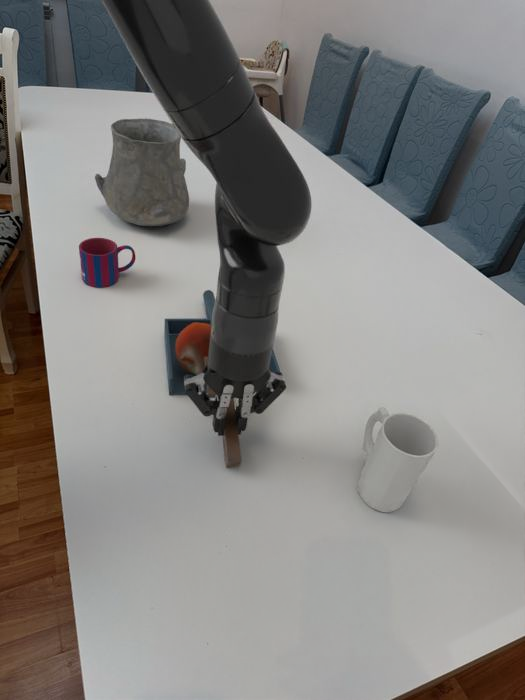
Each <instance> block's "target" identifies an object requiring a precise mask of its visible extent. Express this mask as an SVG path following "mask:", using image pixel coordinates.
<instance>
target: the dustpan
mask: <svg viewBox="0 0 525 700" xmlns="http://www.w3.org/2000/svg"><path fill="white" fill-rule="evenodd" d="M202 297H203V303H204V308H205V314H206V318H203V317H202V318H201V317H200V318H164V325H163V326H164V327H163V328H164V329H163V330H164V331H163V334H164V349H165V360H166V361H165V362H166V373H167V374H166V375H167V386H168V387H167V389H168V395H169V396H179V395H180V396H181V395H187V394H186V392H185V383H184V376H185V375H187V374H191V375H193V376H197V375H195V374H193V373H190V372H188V371H187V370H185V369H184V368H183V367H182V366H181V365H180V363H179V362H178V359H177V355H176V349H175V347H176V340H177V338H178V336H179V334H180V332H181V331H183V330H184V329H185V328H186V327H187V326H188V325H190V324H192V323H194V322H198V323H206V324H209V325H210V322H211V319H212V313H213V308H214V304H215V300H216V297H215V294H214V292H213V291H212V290H210V289H207V290H205V291H204V292H203V294H202ZM269 370H270V372H272V373H276V372H281V369H280V366H279V363H278V360H277V357H276V353H275V351H274V349H273V350H272V355H271V360H270V365H269ZM258 390H259V389H258ZM258 390H257V391H258ZM204 391H205V393H206V394H207V392H206V391H207V387H206V383H205V384H204ZM257 391H256V392H257ZM256 392H255V393H256Z"/></svg>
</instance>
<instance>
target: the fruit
mask: <svg viewBox="0 0 525 700" xmlns="http://www.w3.org/2000/svg"><path fill="white" fill-rule="evenodd" d="M210 333H211V327H210V325H209V324H206V323H198V322H194V323H192V324H190V325H188V326H187V327H186V328H185V329H184V330H183V331H181V332H180V334H179V336H178V338H177V340H176V347H175V349H176V355H177V359H178V362H179V363H180V365H181V366H182V367H183V368H184V369H185V370H187V371H188V372H190V373H193V374H195V375H199V374H201V373H203V369H204V367H205V366H204V357H206V356H208V354H209V344H210Z"/></svg>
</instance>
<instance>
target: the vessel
mask: <svg viewBox="0 0 525 700" xmlns="http://www.w3.org/2000/svg"><path fill="white" fill-rule="evenodd" d="M110 129H111V135H112V152H111V158H110V162H109V168H108V170H107V171H108V172H107V175H106V176H104V177H102V175H101V174H99V173H96V174H95V175H94V180H95V183H96V187H97V189H98V190H99V192H100V193H101V195H102V197H103V199H104V202H105V203H106V206H107V207H108V208H109V210H110V212H112V213H113V214H114V215H116V216H117V217H118V218H119V219H121V220H122V221H124V222H127V223H130V224H133V225H136V226H143V227H163V226H168V225H172V224H175V223H177V222H179V221H181V220H182V219H184V217H185V216H186V214H187V213H188V211H189V207H190V193H189V189H188V186H187V185H188V184H187V181H186V177H185V174H186V173H185V172H186V169H187V161H186V159H185V158H181V150H180V149H181V147H180V146H181V139H182V138H181V136H180V134H179V133H178V131H177V130H176V128H175V127H174V125H173V123H172V122H168V121H164V120H159V119H153V118H146V117H145V118H123V119H122V118H121V119H118V120H116V121H114V122H113V123H112V124H111V125H110Z"/></svg>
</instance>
